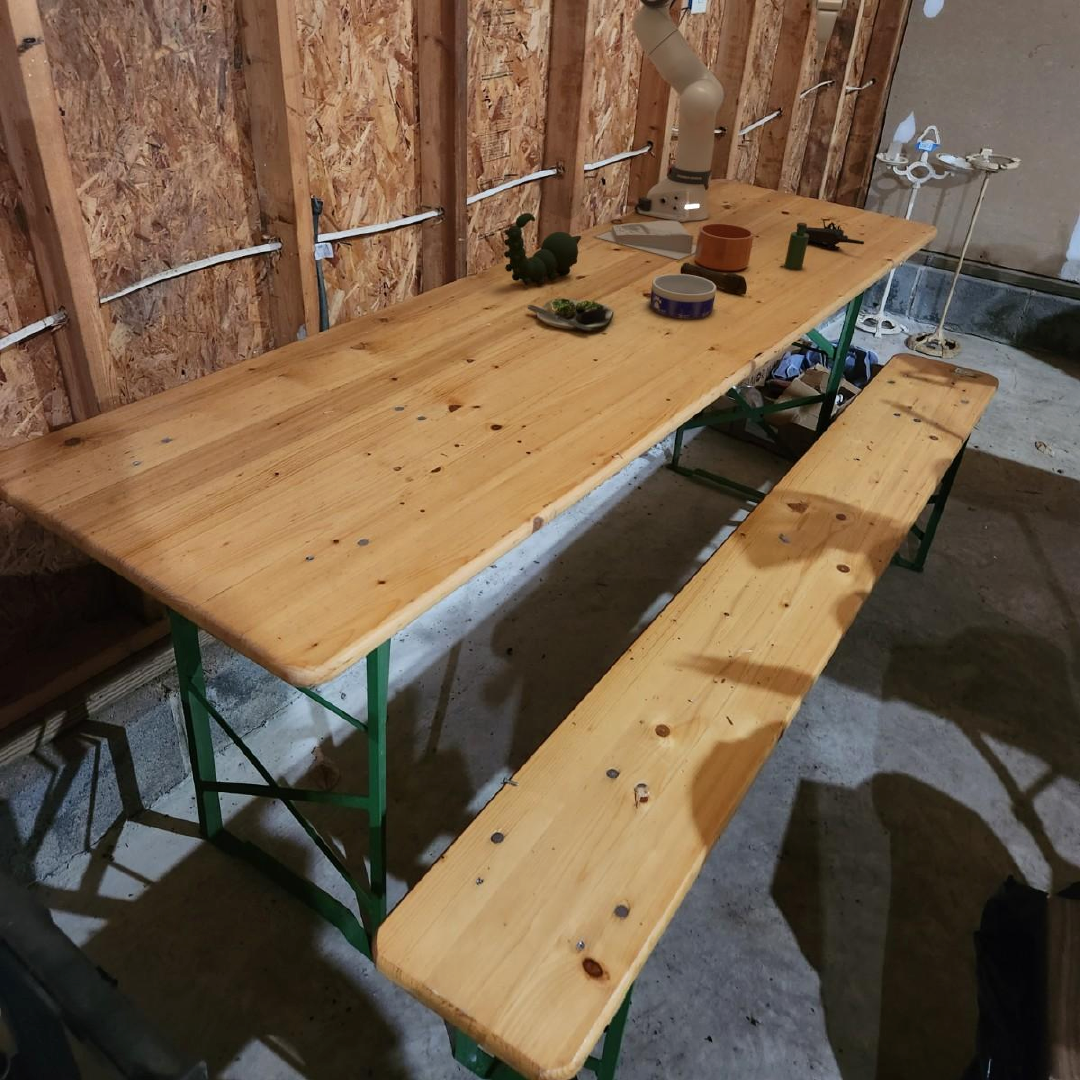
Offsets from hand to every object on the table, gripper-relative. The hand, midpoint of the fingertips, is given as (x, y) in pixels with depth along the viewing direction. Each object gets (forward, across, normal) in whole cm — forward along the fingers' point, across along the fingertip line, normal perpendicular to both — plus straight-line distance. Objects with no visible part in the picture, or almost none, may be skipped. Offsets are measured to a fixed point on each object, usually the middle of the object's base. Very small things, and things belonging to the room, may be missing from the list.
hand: (819, 58), depth 259 cm
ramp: (+48, +30, -37) cm, 68 cm away
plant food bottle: (+49, +34, +4) cm, 60 cm away
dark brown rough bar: (+50, +60, -15) cm, 79 cm away
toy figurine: (+50, +75, -56) cm, 106 cm away
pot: (+49, +41, -15) cm, 66 cm away
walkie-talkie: (+48, +10, +13) cm, 51 cm away
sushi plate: (+51, +98, -42) cm, 118 cm away
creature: (+48, -4, +14) cm, 50 cm away
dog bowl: (+50, +80, -20) cm, 96 cm away
